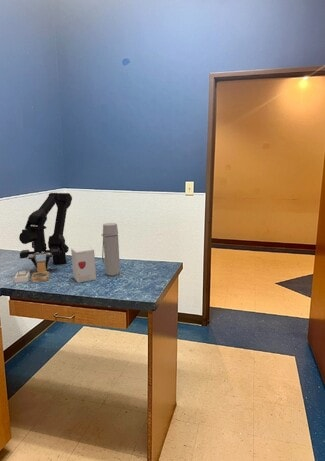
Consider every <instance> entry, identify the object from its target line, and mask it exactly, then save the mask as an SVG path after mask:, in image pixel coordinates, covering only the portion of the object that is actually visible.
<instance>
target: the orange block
mask: <svg viewBox="0 0 325 461" xmlns="http://www.w3.org/2000/svg"><path fill="white" fill-rule="evenodd" d="M36 270H37V273H38V272H47V270H48V268H47V269H46V260H38V261H37V269H36Z"/></svg>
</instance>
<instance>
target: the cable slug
mask: <svg viewBox="0 0 325 461" xmlns="http://www.w3.org/2000/svg"><path fill="white" fill-rule="evenodd" d="M18 272H19V274H18V277H21V276H26V275H27V272H28V271H27V270H19V271H18Z"/></svg>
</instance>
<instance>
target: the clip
mask: <svg viewBox="0 0 325 461" xmlns="http://www.w3.org/2000/svg"><path fill="white" fill-rule="evenodd" d="M19 272H20V271H18V272H17V271H16V273H15V275H14V277H13V278H14V283H15V284H16V283H17V284H18V283H26V282H29V280H30V279H31V273H30V272H31V271H27V275H26V276H21V277H18V274H19Z"/></svg>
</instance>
